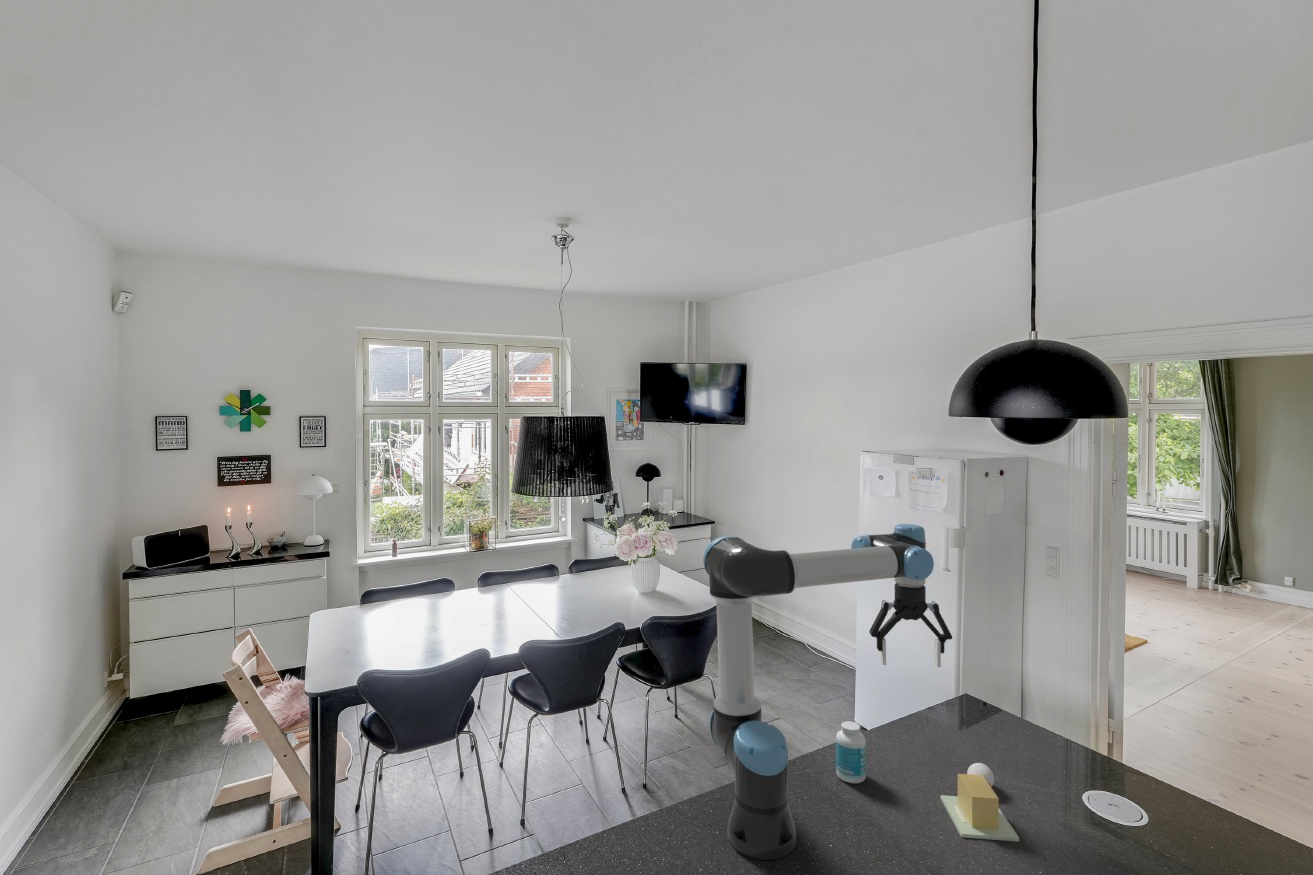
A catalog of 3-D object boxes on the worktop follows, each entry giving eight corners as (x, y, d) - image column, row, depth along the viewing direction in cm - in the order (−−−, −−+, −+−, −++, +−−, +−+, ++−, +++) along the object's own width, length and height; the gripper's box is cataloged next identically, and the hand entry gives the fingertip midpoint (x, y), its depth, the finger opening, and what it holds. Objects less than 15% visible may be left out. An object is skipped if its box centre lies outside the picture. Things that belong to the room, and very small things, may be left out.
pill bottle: (867, 786, 153) (867, 733, 153) (837, 783, 154) (837, 731, 154) (863, 769, 160) (863, 719, 160) (834, 766, 162) (834, 717, 162)
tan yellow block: (972, 827, 136) (972, 796, 136) (957, 802, 145) (957, 773, 145) (998, 829, 135) (998, 798, 135) (982, 804, 144) (982, 775, 144)
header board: (961, 836, 134) (961, 816, 134) (940, 798, 148) (940, 779, 148) (1019, 841, 132) (1019, 820, 132) (992, 801, 146) (992, 783, 146)
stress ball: (970, 790, 156) (953, 766, 157) (999, 778, 154) (982, 753, 155) (974, 807, 149) (957, 781, 150) (1004, 794, 147) (986, 768, 148)
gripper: (863, 586, 156) (864, 667, 157) (965, 588, 153) (965, 671, 153) (857, 579, 164) (858, 656, 164) (955, 581, 160) (955, 660, 161)
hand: (910, 663), depth 159 cm, fingers open, 13 cm apart
